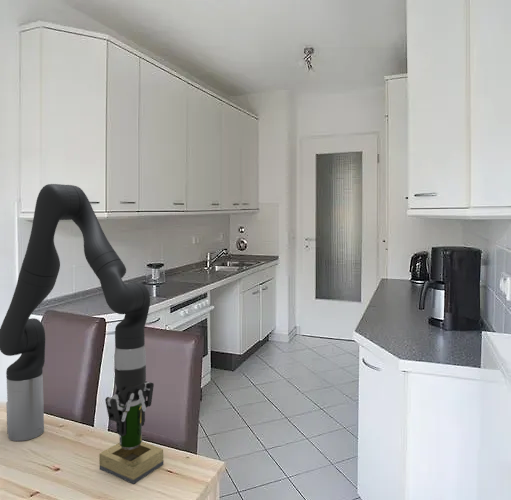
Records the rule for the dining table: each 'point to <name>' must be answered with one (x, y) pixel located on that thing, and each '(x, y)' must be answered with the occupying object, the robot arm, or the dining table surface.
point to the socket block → (131, 461)
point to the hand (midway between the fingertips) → (131, 429)
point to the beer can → (132, 426)
